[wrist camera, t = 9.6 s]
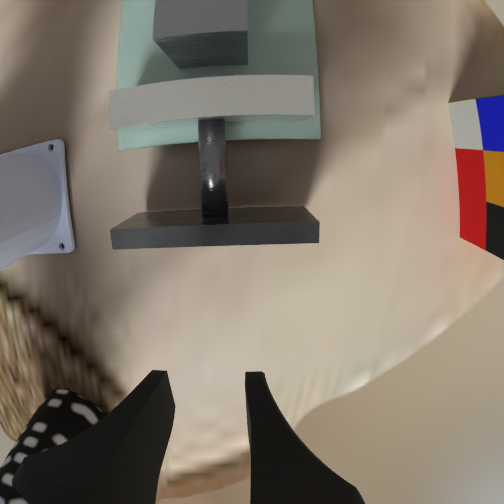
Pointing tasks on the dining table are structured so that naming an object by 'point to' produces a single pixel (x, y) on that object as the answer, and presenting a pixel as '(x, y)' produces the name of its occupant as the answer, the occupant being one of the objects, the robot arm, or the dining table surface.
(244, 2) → the steel block
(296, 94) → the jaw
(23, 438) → the white-spotted black cylinder
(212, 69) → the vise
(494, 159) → the puzzle toy
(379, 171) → the dining table surface
